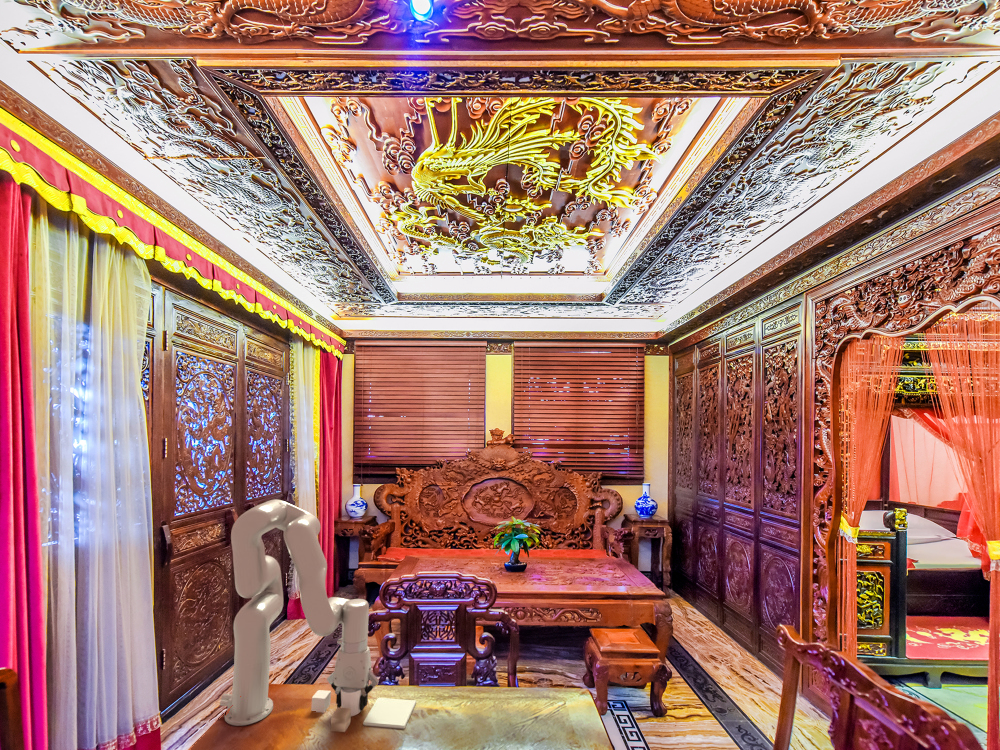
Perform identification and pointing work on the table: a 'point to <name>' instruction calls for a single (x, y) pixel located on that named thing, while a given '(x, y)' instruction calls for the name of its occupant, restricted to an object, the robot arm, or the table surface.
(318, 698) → the off-white plastic block
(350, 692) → the white rounded piece
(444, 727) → the table surface
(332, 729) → the birch block
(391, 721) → the cream pad
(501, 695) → the table surface
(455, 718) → the table surface
